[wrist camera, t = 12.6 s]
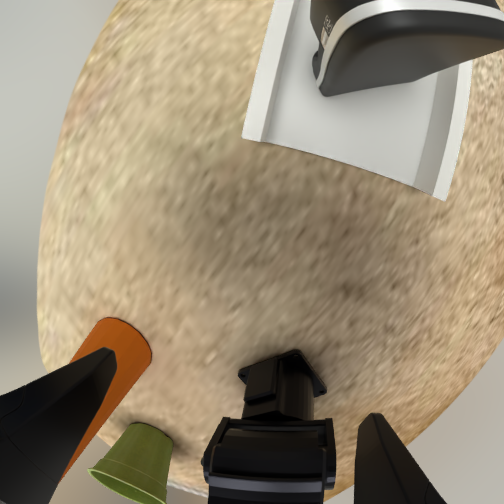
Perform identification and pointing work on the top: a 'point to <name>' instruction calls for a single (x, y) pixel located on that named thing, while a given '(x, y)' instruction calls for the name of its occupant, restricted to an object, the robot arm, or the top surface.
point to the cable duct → (356, 110)
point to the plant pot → (137, 465)
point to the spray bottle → (128, 371)
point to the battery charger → (398, 40)
